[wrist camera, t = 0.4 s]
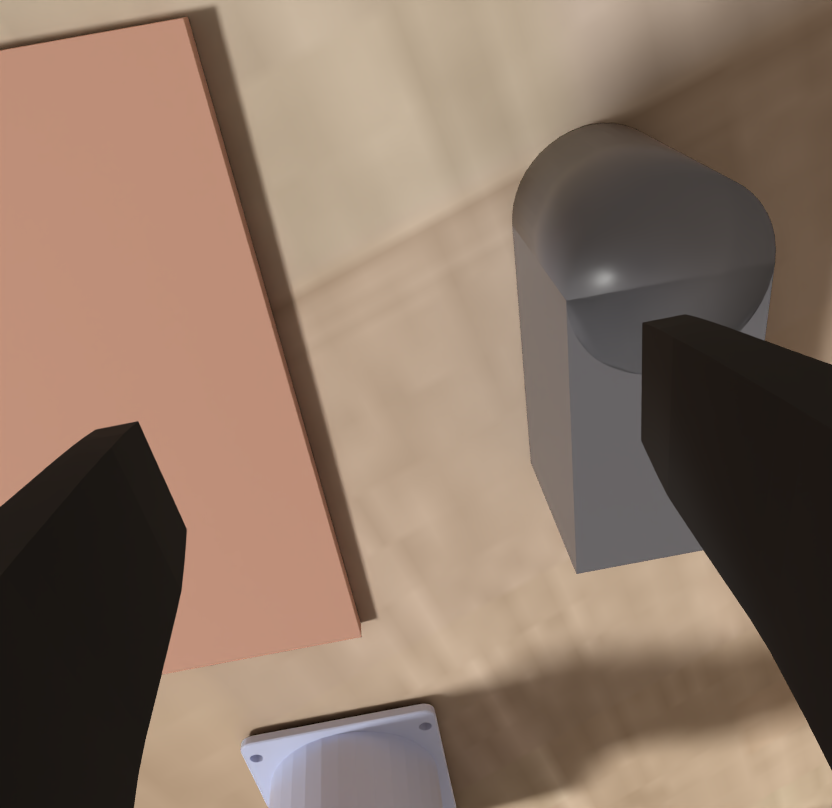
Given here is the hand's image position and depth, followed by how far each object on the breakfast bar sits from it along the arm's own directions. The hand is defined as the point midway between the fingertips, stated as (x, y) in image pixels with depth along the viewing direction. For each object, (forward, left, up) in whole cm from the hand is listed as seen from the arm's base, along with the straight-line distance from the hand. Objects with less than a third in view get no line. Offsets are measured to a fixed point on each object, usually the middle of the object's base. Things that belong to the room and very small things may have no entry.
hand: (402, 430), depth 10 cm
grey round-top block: (-5, -6, -10) cm, 12 cm away
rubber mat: (-5, +9, -10) cm, 14 cm away
